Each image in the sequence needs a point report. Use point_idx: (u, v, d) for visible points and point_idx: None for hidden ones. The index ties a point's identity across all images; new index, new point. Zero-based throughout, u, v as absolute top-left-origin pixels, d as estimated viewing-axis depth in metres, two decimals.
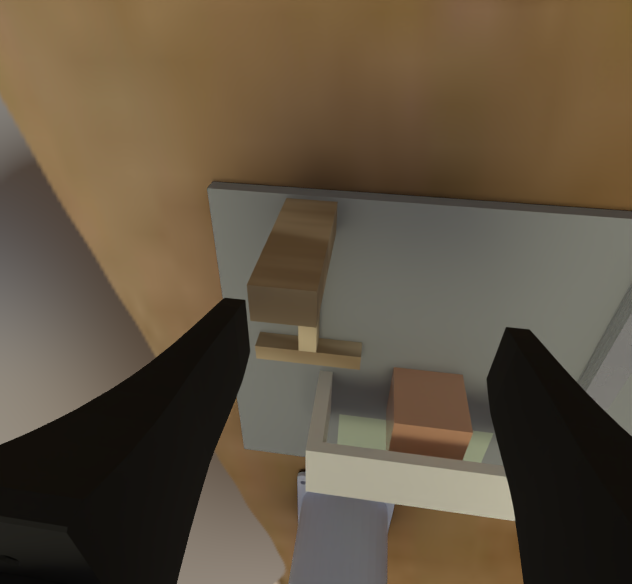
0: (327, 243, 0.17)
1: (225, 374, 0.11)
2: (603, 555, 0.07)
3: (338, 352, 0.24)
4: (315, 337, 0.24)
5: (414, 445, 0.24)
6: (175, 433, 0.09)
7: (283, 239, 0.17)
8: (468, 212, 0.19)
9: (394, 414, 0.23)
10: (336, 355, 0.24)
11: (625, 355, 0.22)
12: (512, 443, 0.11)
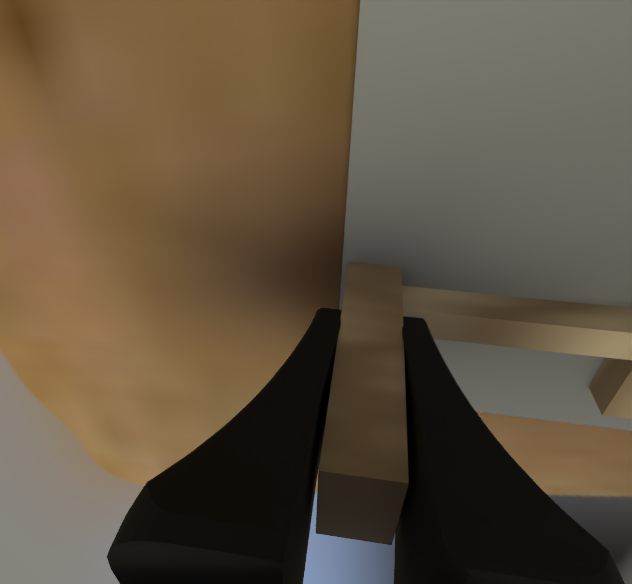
0: (338, 347, 0.10)
1: None
2: (422, 528, 0.07)
3: None
4: (610, 332, 0.12)
5: None
6: (312, 452, 0.08)
7: None
8: (367, 42, 0.10)
9: None
10: None
11: None
12: None
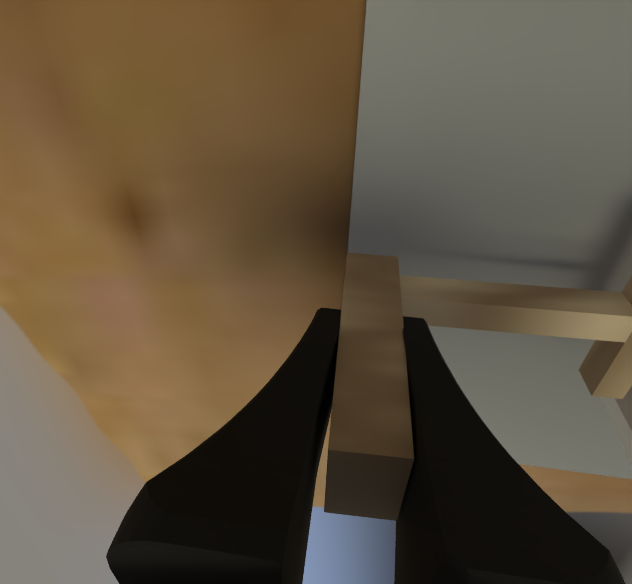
0: (340, 334, 0.11)
1: (330, 387, 0.11)
2: (422, 528, 0.07)
3: None
4: (599, 315, 0.13)
5: None
6: (311, 452, 0.08)
7: None
8: (354, 246, 0.16)
9: None
10: None
11: None
12: None
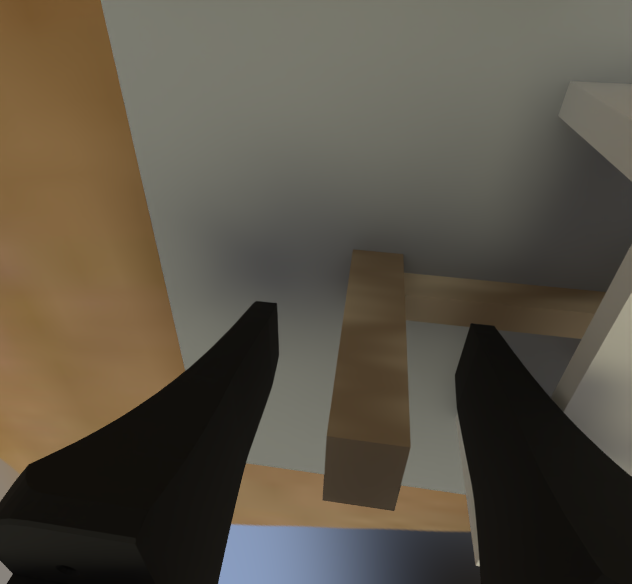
0: (343, 327, 0.11)
1: (259, 378, 0.11)
2: (542, 546, 0.07)
3: None
4: None
5: None
6: (219, 439, 0.08)
7: None
8: (166, 260, 0.15)
9: None
10: None
11: None
12: (473, 438, 0.11)
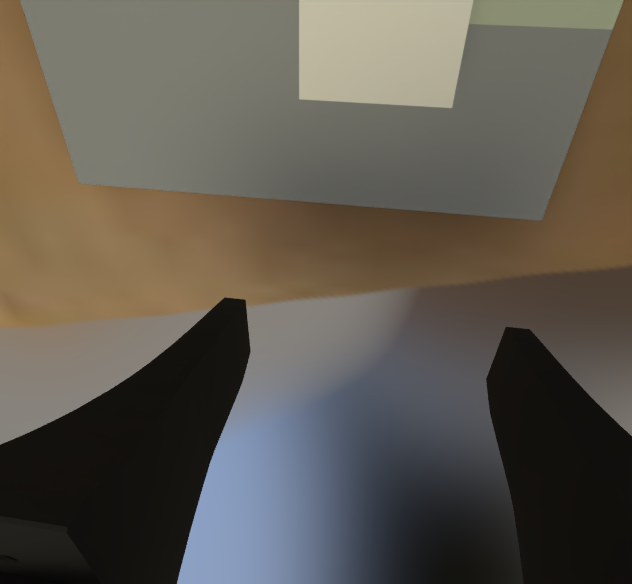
0: None
1: (225, 374, 0.11)
2: (603, 555, 0.07)
3: None
4: None
5: None
6: (175, 433, 0.09)
7: None
8: None
9: None
10: None
11: None
12: (511, 443, 0.11)
